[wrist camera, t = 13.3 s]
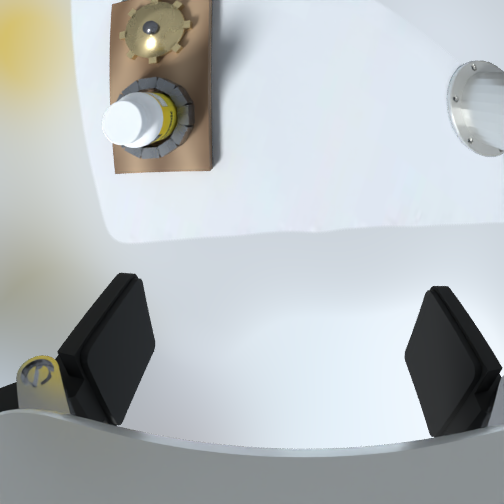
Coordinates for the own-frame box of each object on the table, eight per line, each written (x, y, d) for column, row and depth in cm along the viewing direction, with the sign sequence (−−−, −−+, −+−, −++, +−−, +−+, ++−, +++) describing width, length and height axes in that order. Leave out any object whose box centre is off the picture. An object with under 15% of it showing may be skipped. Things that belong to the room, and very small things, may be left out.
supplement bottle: (164, 148, 34) (126, 165, 25) (130, 121, 33) (84, 131, 24) (192, 111, 32) (161, 115, 23) (157, 83, 31) (115, 80, 22)
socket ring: (194, 75, 30) (187, 73, 28) (195, 153, 34) (189, 157, 32) (121, 84, 31) (110, 83, 29) (124, 156, 35) (115, 160, 33)
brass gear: (193, -6, 26) (188, -12, 24) (192, 60, 29) (186, 57, 28) (124, 6, 26) (116, 2, 24) (122, 69, 30) (114, 68, 28)
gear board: (212, -10, 27) (209, -14, 25) (212, 168, 36) (209, 171, 35) (117, 7, 27) (112, 4, 26) (120, 171, 37) (115, 173, 36)
